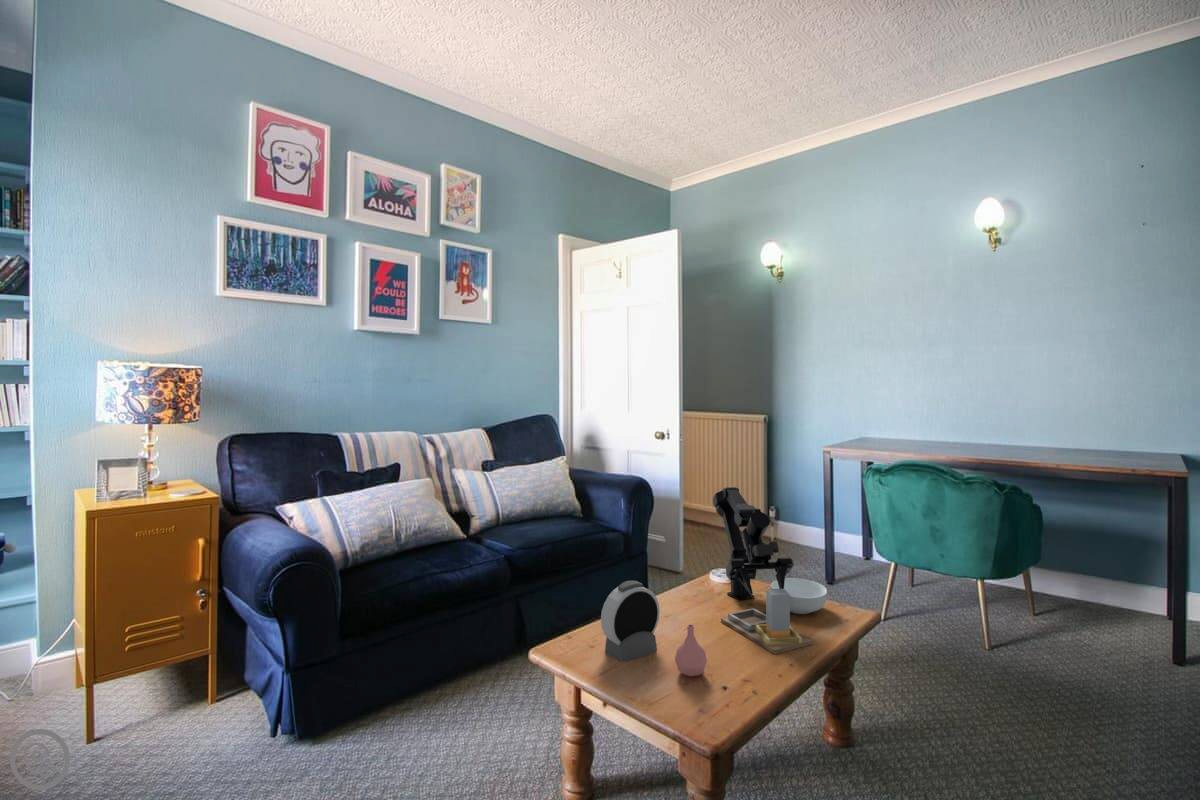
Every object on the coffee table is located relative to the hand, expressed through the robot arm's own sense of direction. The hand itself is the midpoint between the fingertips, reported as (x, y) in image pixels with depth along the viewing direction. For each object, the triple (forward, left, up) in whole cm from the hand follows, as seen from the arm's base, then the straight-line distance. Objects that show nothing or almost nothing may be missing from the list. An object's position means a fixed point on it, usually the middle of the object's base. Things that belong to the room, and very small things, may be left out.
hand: (767, 593), depth 169 cm
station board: (+2, -3, -10) cm, 11 cm away
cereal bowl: (-6, +18, -10) cm, 22 cm away
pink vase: (+13, -35, -10) cm, 38 cm away
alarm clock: (-5, -42, -10) cm, 43 cm away
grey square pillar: (+8, -3, -9) cm, 12 cm away
